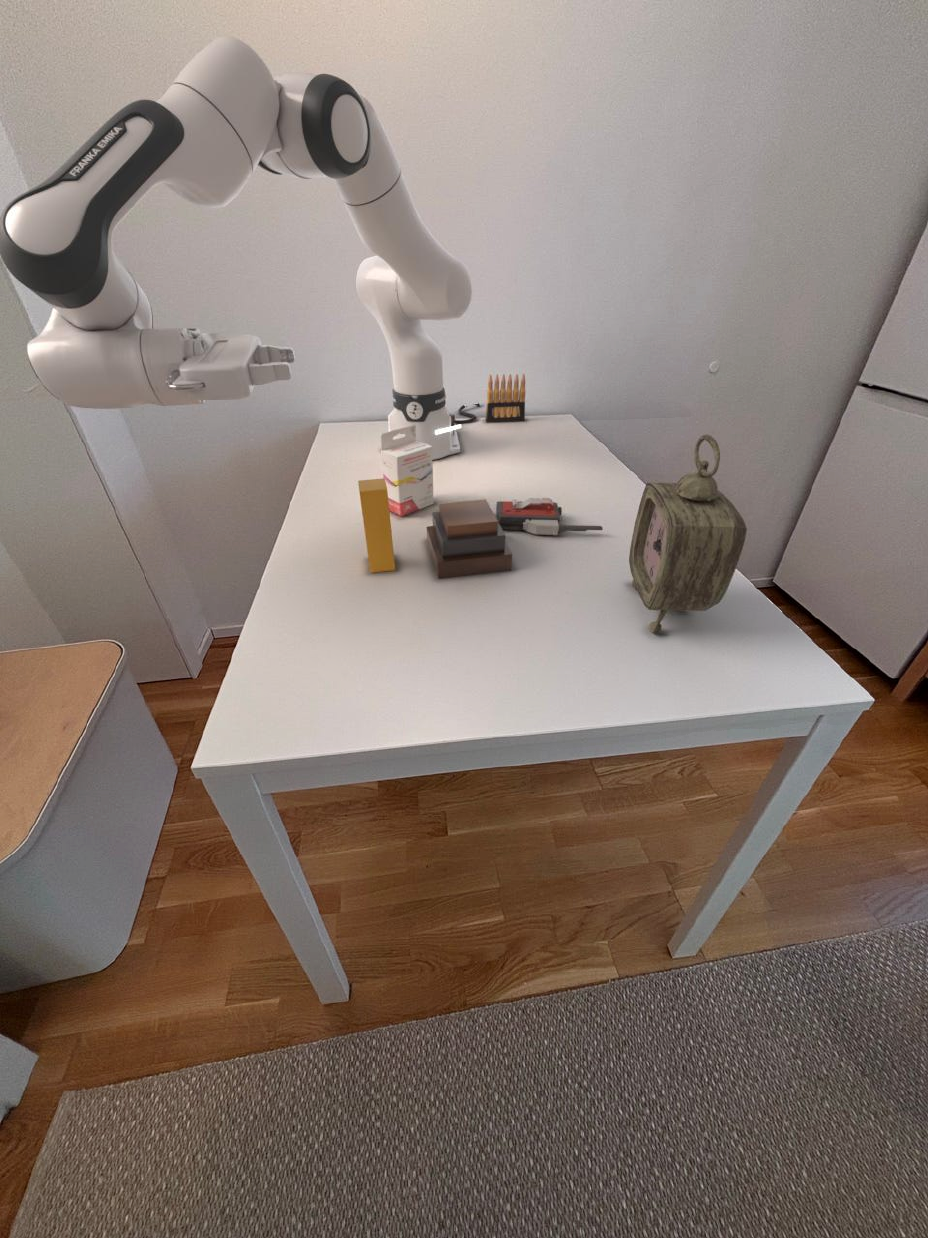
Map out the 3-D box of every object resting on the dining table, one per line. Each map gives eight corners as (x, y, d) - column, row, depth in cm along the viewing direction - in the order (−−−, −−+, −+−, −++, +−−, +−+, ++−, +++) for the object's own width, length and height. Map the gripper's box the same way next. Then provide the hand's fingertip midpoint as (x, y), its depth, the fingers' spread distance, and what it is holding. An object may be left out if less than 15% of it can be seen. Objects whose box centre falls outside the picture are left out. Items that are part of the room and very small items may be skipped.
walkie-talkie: (489, 535, 92) (602, 538, 92) (490, 513, 90) (606, 515, 89) (490, 513, 99) (594, 515, 98) (490, 491, 96) (598, 493, 96)
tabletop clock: (621, 580, 81) (659, 417, 65) (680, 581, 81) (731, 418, 65) (644, 641, 70) (695, 461, 54) (711, 642, 69) (783, 462, 54)
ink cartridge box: (401, 518, 98) (395, 440, 89) (385, 509, 101) (377, 433, 91) (435, 503, 103) (432, 428, 93) (419, 496, 105) (414, 422, 96)
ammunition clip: (486, 422, 142) (487, 375, 134) (485, 420, 143) (486, 373, 136) (524, 421, 143) (527, 374, 135) (523, 418, 144) (526, 372, 137)
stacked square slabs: (427, 541, 91) (424, 499, 86) (493, 534, 93) (494, 492, 88) (438, 578, 82) (436, 534, 77) (511, 570, 84) (514, 526, 79)
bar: (369, 560, 86) (358, 480, 77) (392, 557, 87) (384, 478, 78) (370, 573, 83) (359, 491, 74) (395, 570, 84) (387, 489, 75)
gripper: (150, 358, 56) (281, 352, 59) (189, 326, 72) (291, 322, 74) (171, 417, 60) (293, 409, 62) (203, 374, 76) (300, 370, 78)
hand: (292, 362), depth 68 cm, fingers open, 8 cm apart
